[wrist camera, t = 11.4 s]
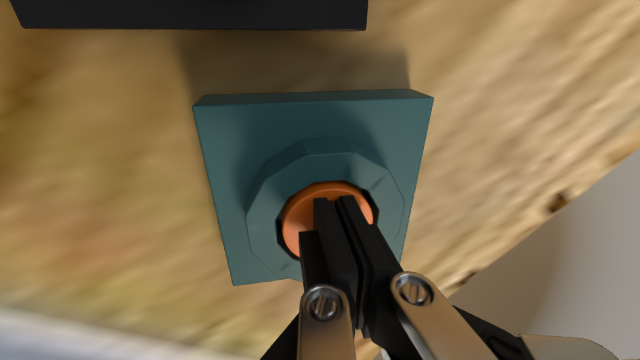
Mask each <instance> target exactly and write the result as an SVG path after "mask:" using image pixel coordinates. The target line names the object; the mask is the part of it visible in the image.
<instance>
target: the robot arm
mask: <svg viewBox="0 0 640 360" xmlns="http://www.w3.org/2000/svg"><path fill="white" fill-rule="evenodd" d="M298 238H299V254H300V264H301V271H302V279H303V286H304V294H303V295H302V297H301V300H300V308H299V313H298V315H297V316H296V317H295V318H294V319H293V321H292V322H291V323H290V324H289V325H288V327H287V328H286V329H285V330H284V331H283V332H282V334H281V335H280V336H279V337H278V338H277V340H276V341H275V342H274V343H273V344H272V346H271V347H270V348H269V349H268V350H267V352H266V353H265V354H264V355H263V356H262V358H261V359H260V360H356V354H355V347H354V336H355V328H356V329H357V330H358V329H361V331H362V334H363V337H364V339H365V338H370V337H371V340H372V342H374V343H375V344H377V345H378V346H379V349H380V352H381V355H382V357H383V359H384V360H619V359H618V358H617V357H616V356H615V355H614V354H613V353H612V352H610V351H609V350H607V349H606V348H604V347H603V346H601V345H599V344H597V343H595V342H593V341H591V340H587V339H583V338H574V337H560V336H546V335H532V334H518V336H517V337H515V336H513V335H512V334H510V333H508V332H507V331H505V330H503V329H501V328H499V327H497V326H495V325H493V324H490V323H488V322H486V321H484V320H482V319H480V318H478V317H476V316H474V315H472V314H470V313H468V312H466V311H464V310H461V309H459V308H458V307H455V306H454V305H451V303H450V302H449V301H448V300H447V299H446V297H445V296H444V295H443V294H442V293H441V292H440V290H439V289H438V288H437V287H436V286H435V285H434V283H432V282H431V281H430V280H429V279H428V278H427V277H425V276H423V275H421V274H419V273H416V272H410V271H406V272H404V271H403V269H402V268H401V266H400V264H399V262H398V261H397V259H396V257H395V255H394V254H393V252H392V250H391V248H390V247H389V245H388V243H387V241H386V240H385V238H384V236H383V234H382V233H381V231H380V229H379V227H378V226H377V225H376V224H375V223H373V224H369V223H368V222H367V220H366V218H365V216H364V214H363V212H362V210H361V208H360V207H359V205H358V203H357V201H356V199H355V197H354V196H353V195H344V196H340V197H339V199H338V200H335V207H334V204H333V202H332V200H328V199H327V197H322V198H313V230H309V231H300V232H298ZM622 360H640V359H622Z"/></svg>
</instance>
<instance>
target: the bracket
mask: <svg viewBox="0 0 640 360" xmlns="http://www.w3.org/2000/svg"><path fill="white" fill-rule="evenodd" d="M10 2H11V5H12V7H13V9H14V11H15V13H16V15H17V17H18V19H19V22H20V24H21V26H22V27H23V28H25V29H62V30H221V31H365V30H366V24H367V11H368V0H10Z"/></svg>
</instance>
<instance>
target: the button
mask: <svg viewBox="0 0 640 360" xmlns="http://www.w3.org/2000/svg"><path fill="white" fill-rule="evenodd" d="M344 195H353V196H354V197H355V199H356V201H357V203H358V205H359V207H360V208H361V210H362V212H363V214H364V216H365V218H366V220H367V222H368V223H369V224H373V214H372V210H371V208H370V206H369V204H368V202H367V201H366V199H365V197H364V196H363V194H362V192H361V191H360V189H359V187H358V186H357V185H354V184H352V183H350V182H348V181H346V180H336V181H324V182H314V183H312V184H310V185H309V186H307V187H305V188H304V189H302V190H300V191H299V192H297V193H295V194H294V195H292V196H290V197H289V198H288V199H287V201H286V203H285V204H284V206H283V208H282V209H281V220H282V233H283V238H284V241H285V243H286V245H287V247H288V248H289V249H290V251H291V252H293V253H294V254H295V255H296V256H298V257H300V254H299V238H298V232H300V231H309V230H313V198H322V197H327V199H328V200H332V202H333V204H334V207H335V200H338V199H339V197H340V196H344Z"/></svg>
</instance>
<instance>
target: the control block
mask: <svg viewBox="0 0 640 360" xmlns="http://www.w3.org/2000/svg"><path fill="white" fill-rule="evenodd" d="M433 101H434V98H433V97H431V96H429V95H426V94H423V93H420V92H417V91H415V90H412V89H390V90H356V91H322V92H289V93H255V94H221V95H204V96H203V97H202V98H201V99H199V100H198V101H197V102H196V103H195V104H194V105H193V106H192V110H193V114H194V119H195V123H196V127H197V132H198V136H199V140H200V145H201V149H202V153H203V158H204V162H205V166H206V171H207V175H208V179H209V184H210V188H211V192H212V197H213V201H214V205H215V210H216V214H217V218H218V223H219V227H220V231H221V236H222V240H223V244H224V249H225V253H226V257H227V262H228V266H229V270H230V275H231V279H232V283H233V286H239V285H246V284H253V283H260V282H268V281H275V280H282V279H294V280H297V281H301V282H303V279H302V271H301V264H300V257H298V256H296V255H295V254H294V253H293V252H291V251H290V249H289V248H288V247H287V245H286V243H285V241H284V238H283V233H282V220H281V209H282V208H283V206H284V204H285V203H286V201H287V199H288V198H289V197H290V196H292V195H294V194H295V193H297V192H299V191H300V190H302V189H304V188H305V187H307V186H309V185H310V184H312V183H314V182H324V181H336V180H346V181H348V182H350V183H352V184H354V185H357V186H358V187H359V189H360V191H361V192H362V194H363V196H364V197H365V199H366V201H367V202H368V204H369V206H370V208H371V210H372V214H373V223H375V224H376V225H377V226H378V227H379V229H380V231H381V233H382V234H383V236H384V238H385V240H386V241H387V243H388V245H389V247H390V248H391V250H392V252H393V254H394V255H395V257H396V259H397V261H398V262H399V263H400V261H401V256H402V251H403V246H404V242H405V237H406V232H407V227H408V222H409V217H410V212H411V208H412V203H413V198H414V193H415V188H416V183H417V178H418V173H419V169H420V164H421V159H422V154H423V149H424V144H425V139H426V135H427V130H428V125H429V120H430V115H431V110H432V105H433Z"/></svg>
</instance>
